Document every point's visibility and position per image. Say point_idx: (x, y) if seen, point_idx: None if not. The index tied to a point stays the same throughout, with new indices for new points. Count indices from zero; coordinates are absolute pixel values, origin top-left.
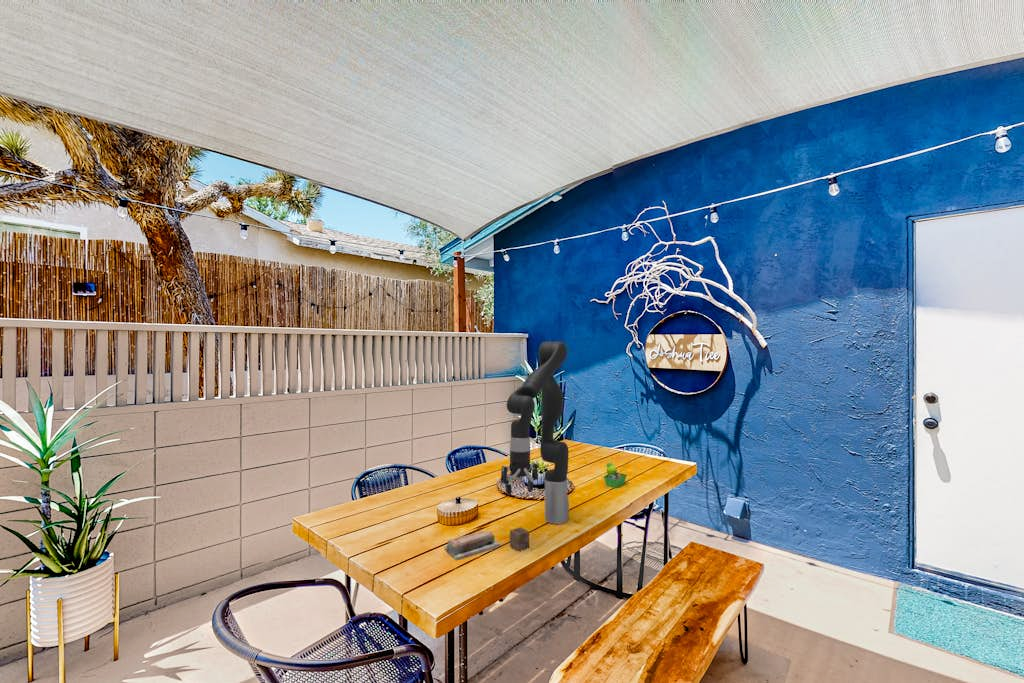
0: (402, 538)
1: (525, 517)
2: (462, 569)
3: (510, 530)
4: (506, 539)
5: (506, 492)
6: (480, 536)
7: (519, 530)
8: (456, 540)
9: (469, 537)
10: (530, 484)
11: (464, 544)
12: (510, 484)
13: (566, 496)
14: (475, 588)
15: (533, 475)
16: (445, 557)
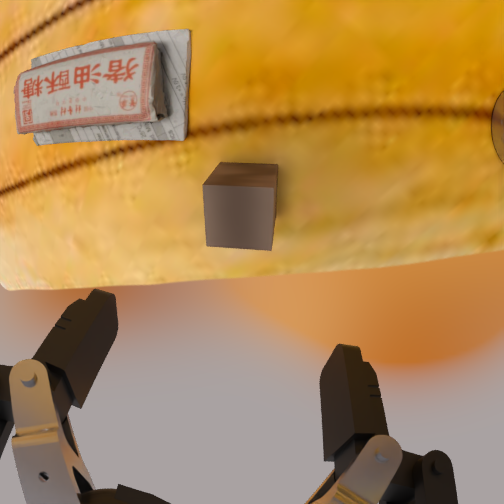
0: None
1: (462, 6)
2: (43, 196)
3: (205, 185)
4: (248, 98)
5: (77, 307)
6: (97, 111)
7: (242, 213)
8: (26, 99)
9: (64, 95)
10: (325, 442)
11: (42, 130)
12: (76, 397)
13: None
14: (55, 277)
15: (424, 490)
16: None
